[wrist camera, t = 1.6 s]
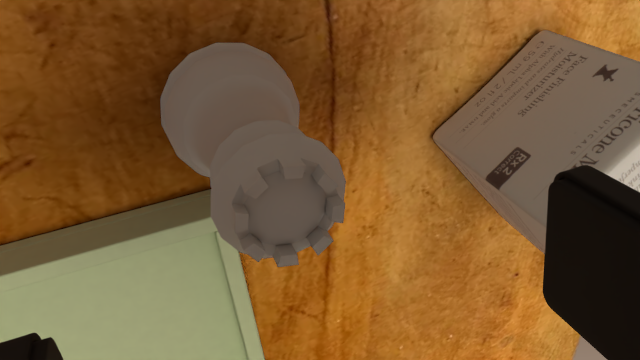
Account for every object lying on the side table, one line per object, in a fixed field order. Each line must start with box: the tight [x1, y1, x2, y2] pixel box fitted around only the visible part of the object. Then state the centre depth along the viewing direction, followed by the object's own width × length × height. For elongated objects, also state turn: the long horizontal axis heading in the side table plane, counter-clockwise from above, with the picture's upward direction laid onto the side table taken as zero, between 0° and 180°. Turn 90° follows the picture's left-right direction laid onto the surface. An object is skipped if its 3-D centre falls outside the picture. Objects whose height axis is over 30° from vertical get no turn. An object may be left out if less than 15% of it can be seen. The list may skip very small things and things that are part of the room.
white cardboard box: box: [433, 30, 640, 254], centre depth 21 cm, size 6×6×7 cm
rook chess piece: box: [160, 43, 346, 267], centre depth 16 cm, size 4×4×8 cm
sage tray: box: [0, 189, 265, 360], centre depth 21 cm, size 10×10×2 cm
